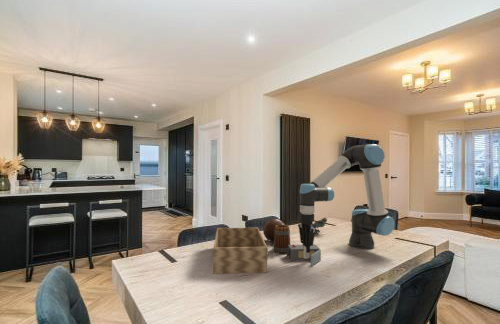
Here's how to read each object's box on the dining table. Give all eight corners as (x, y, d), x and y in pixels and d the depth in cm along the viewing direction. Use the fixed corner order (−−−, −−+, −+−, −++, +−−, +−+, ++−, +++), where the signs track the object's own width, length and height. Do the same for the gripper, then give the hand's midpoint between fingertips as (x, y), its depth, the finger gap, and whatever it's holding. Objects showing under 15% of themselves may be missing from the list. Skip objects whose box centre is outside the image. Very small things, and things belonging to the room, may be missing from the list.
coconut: (290, 242, 174) (290, 220, 174) (272, 246, 165) (272, 222, 166) (275, 237, 186) (275, 216, 186) (258, 240, 178) (258, 218, 178)
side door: (318, 259, 143) (319, 248, 143) (321, 260, 142) (321, 248, 142) (310, 266, 133) (310, 254, 133) (312, 267, 132) (312, 255, 132)
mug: (290, 254, 150) (290, 228, 150) (272, 253, 152) (272, 227, 153) (291, 246, 166) (291, 222, 166) (275, 245, 168) (275, 221, 168)
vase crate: (257, 246, 165) (258, 227, 165) (267, 272, 125) (267, 247, 125) (216, 247, 163) (217, 228, 163) (213, 273, 123) (213, 248, 123)
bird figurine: (299, 230, 204) (311, 210, 197) (306, 228, 211) (318, 208, 204) (311, 242, 195) (324, 221, 188) (318, 240, 202) (331, 220, 195)
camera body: (315, 254, 150) (315, 242, 150) (320, 259, 142) (320, 247, 142) (285, 255, 149) (285, 243, 149) (289, 260, 141) (289, 247, 141)
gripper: (294, 211, 143) (293, 255, 142) (308, 215, 131) (308, 263, 131) (305, 210, 146) (304, 253, 146) (320, 214, 134) (320, 261, 134)
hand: (306, 258), depth 138 cm, fingers closed
